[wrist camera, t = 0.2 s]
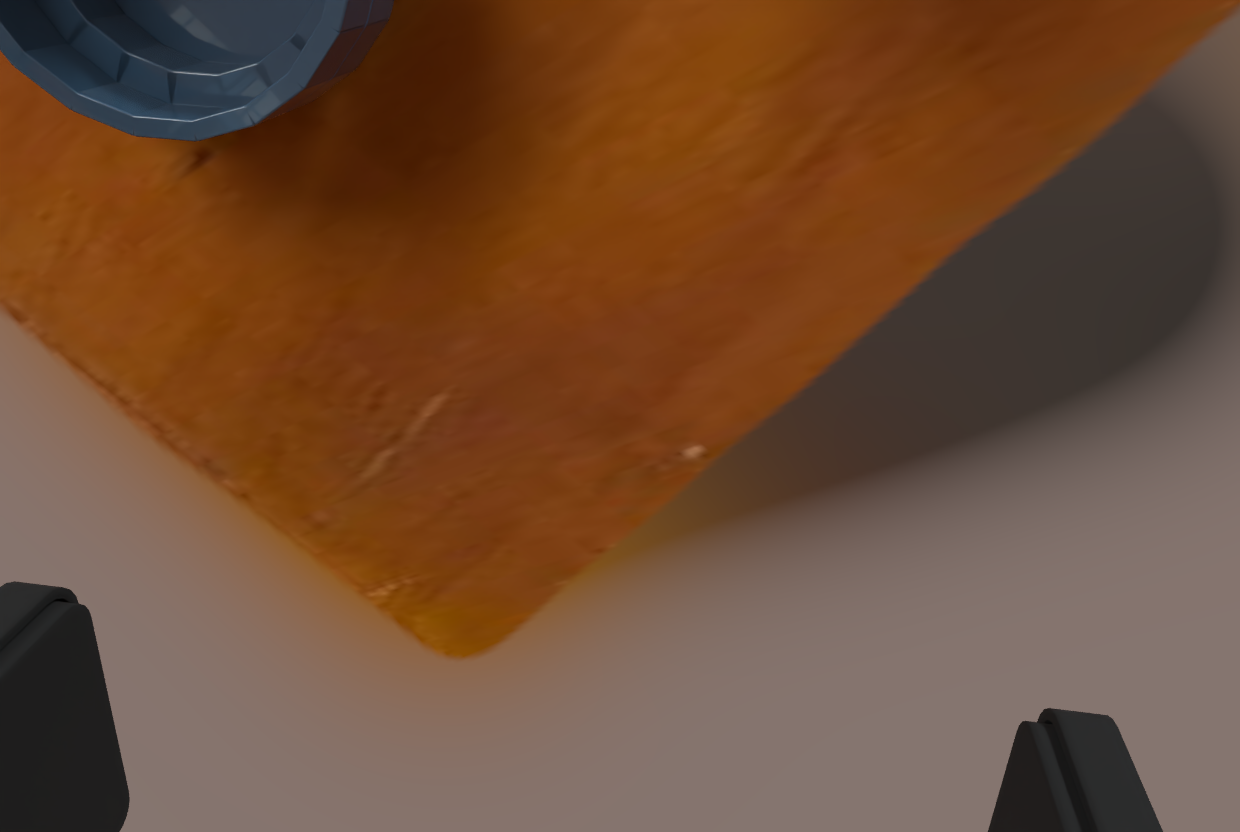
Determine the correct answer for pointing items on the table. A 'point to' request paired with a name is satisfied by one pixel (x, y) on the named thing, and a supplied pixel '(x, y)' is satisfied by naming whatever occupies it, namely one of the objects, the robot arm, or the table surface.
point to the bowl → (188, 57)
